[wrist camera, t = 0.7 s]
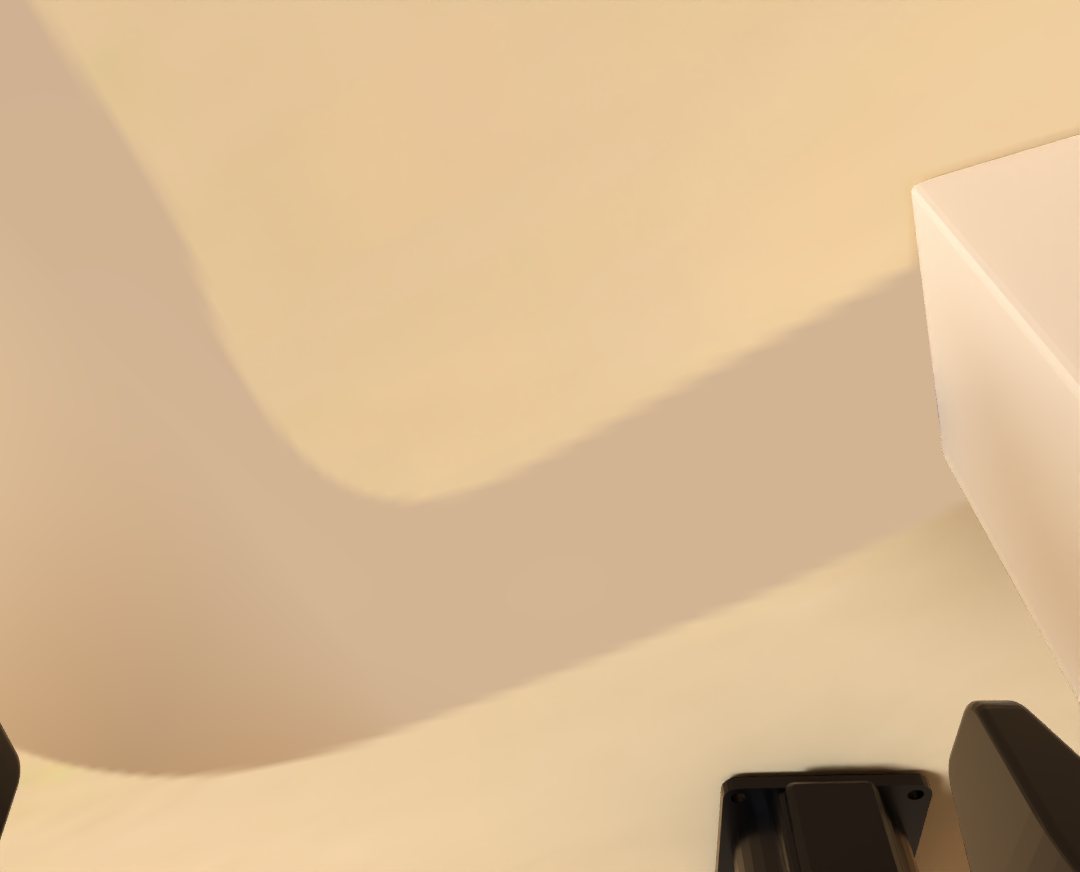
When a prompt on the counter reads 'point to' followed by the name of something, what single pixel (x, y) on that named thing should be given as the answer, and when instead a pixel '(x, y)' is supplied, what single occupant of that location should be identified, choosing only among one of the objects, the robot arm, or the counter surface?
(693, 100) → the counter surface
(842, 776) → the robot arm
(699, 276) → the counter surface
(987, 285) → the milk carton
